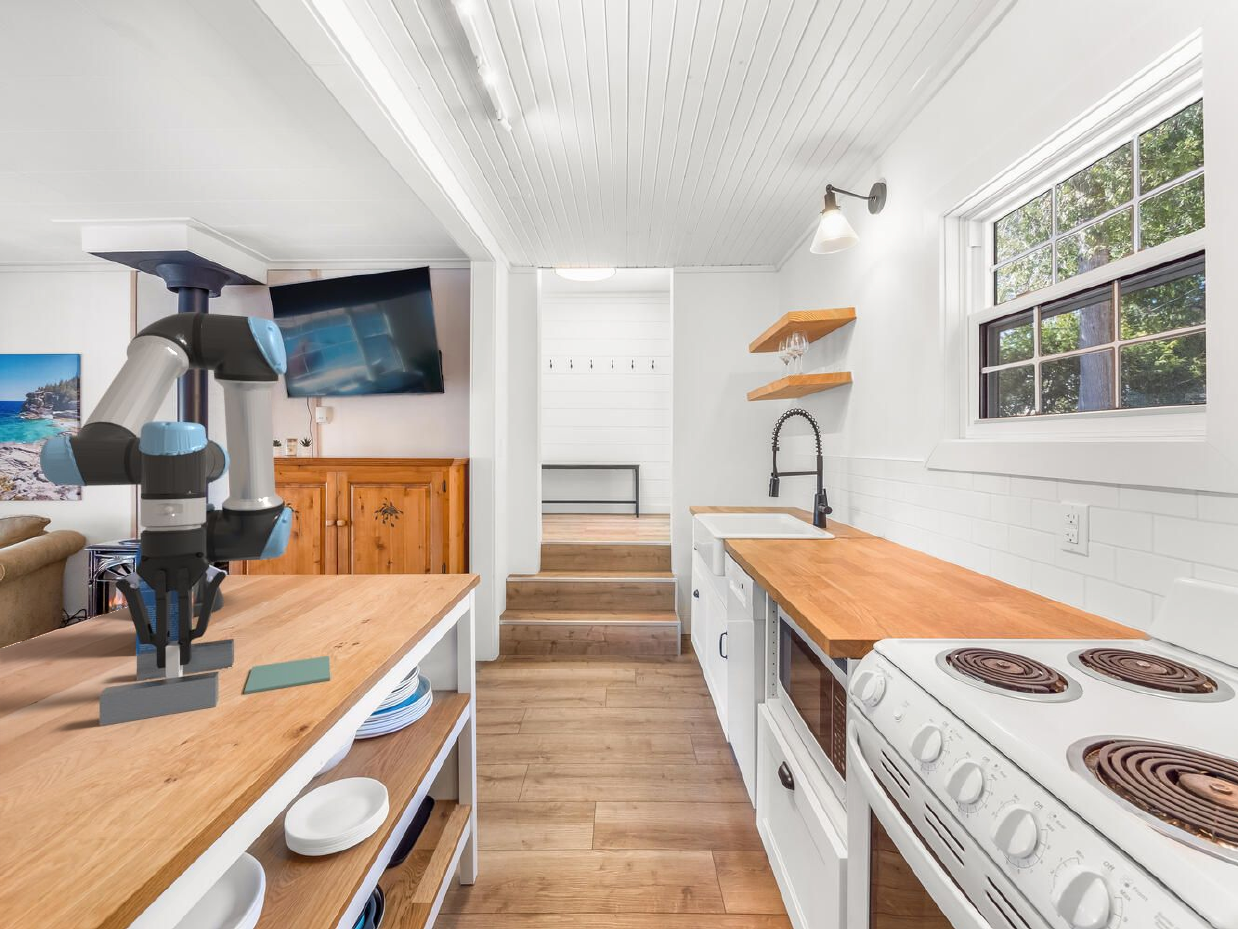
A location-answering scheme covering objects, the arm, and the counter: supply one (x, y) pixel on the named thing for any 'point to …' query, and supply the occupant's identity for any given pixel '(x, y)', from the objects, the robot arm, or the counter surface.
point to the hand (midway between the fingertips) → (174, 687)
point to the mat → (288, 674)
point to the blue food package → (150, 605)
